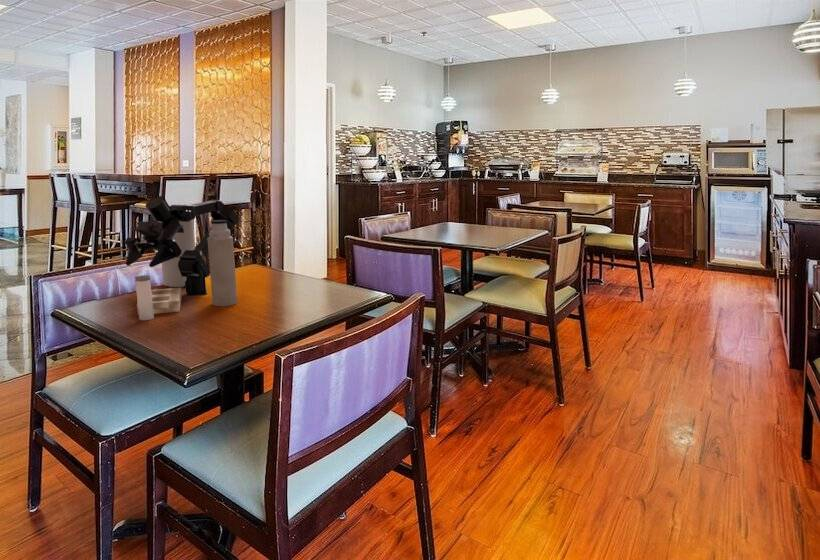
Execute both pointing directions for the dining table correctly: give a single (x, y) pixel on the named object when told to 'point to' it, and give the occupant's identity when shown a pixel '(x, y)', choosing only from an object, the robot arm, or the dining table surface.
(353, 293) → the dining table surface
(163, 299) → the socket board
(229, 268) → the thermos bottle
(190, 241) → the cylinder vase
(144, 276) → the plug
